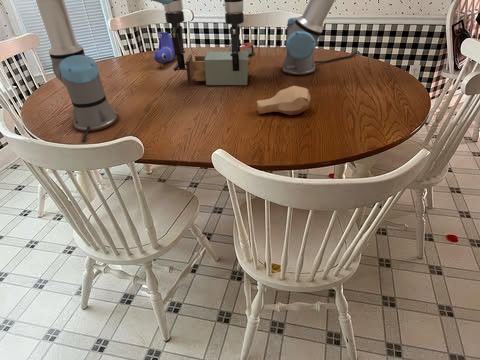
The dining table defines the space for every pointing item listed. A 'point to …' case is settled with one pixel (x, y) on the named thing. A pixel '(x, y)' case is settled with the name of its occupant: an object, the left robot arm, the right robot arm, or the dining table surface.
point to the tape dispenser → (245, 48)
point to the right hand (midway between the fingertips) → (236, 66)
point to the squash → (286, 101)
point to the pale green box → (225, 69)
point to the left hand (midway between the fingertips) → (182, 68)
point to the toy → (165, 49)
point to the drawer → (194, 68)
